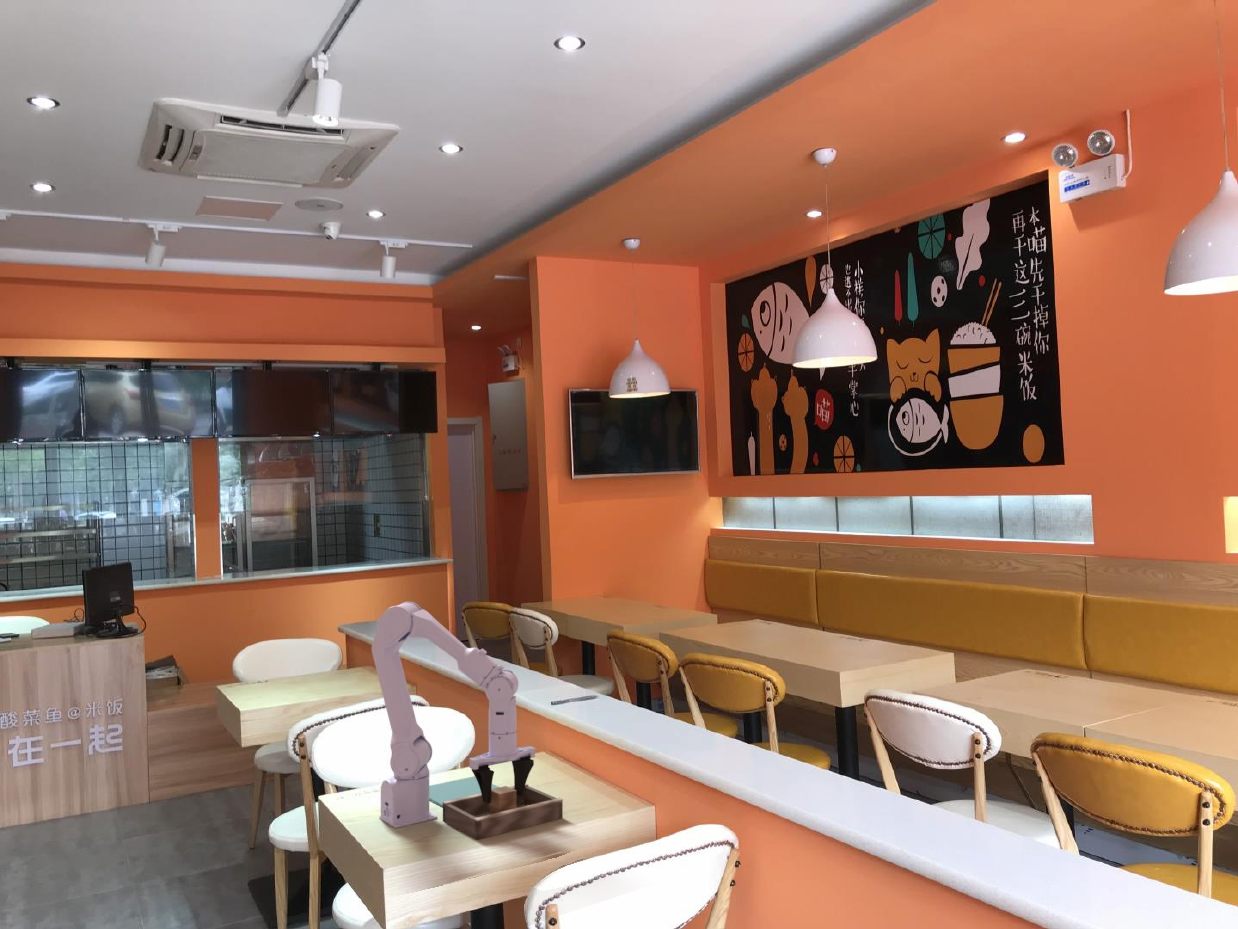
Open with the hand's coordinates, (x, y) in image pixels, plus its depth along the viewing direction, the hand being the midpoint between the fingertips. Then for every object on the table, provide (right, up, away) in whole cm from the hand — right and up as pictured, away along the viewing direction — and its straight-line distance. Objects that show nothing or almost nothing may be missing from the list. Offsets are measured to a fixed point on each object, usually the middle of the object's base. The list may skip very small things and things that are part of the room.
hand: (503, 798), depth 198 cm
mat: (-11, -5, +18) cm, 22 cm away
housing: (0, -4, 0) cm, 4 cm away
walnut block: (0, -4, 0) cm, 4 cm away
